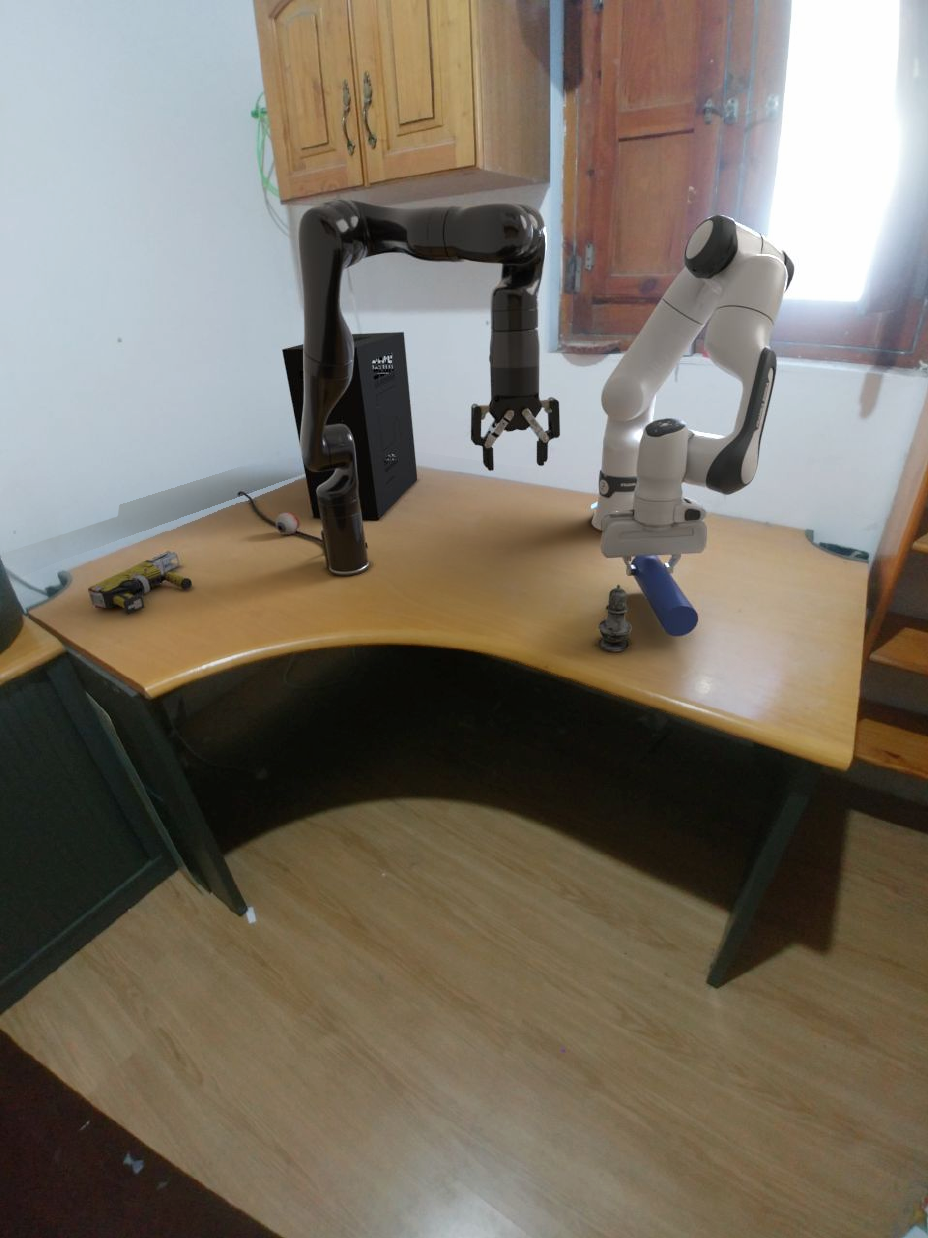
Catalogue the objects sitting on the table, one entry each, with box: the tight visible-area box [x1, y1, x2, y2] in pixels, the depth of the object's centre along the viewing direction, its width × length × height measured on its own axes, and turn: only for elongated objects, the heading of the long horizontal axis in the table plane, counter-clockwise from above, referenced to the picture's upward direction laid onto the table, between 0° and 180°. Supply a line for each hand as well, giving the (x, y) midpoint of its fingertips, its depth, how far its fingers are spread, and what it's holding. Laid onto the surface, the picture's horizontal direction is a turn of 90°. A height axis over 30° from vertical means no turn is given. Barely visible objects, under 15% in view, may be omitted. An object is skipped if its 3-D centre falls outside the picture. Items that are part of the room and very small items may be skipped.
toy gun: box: [87, 550, 193, 615], centre depth 138 cm, size 5×24×15 cm
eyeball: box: [275, 511, 300, 536], centre depth 163 cm, size 6×6×6 cm
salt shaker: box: [597, 584, 633, 653], centre depth 106 cm, size 6×6×12 cm
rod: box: [630, 555, 699, 637], centre depth 115 cm, size 23×6×6 cm, turn 0°
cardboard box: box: [281, 331, 418, 521], centre depth 178 cm, size 38×20×45 cm, turn 167°
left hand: (515, 467), depth 100 cm, fingers open, 8 cm apart
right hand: (649, 573), depth 122 cm, fingers closed on rod, 6 cm apart
